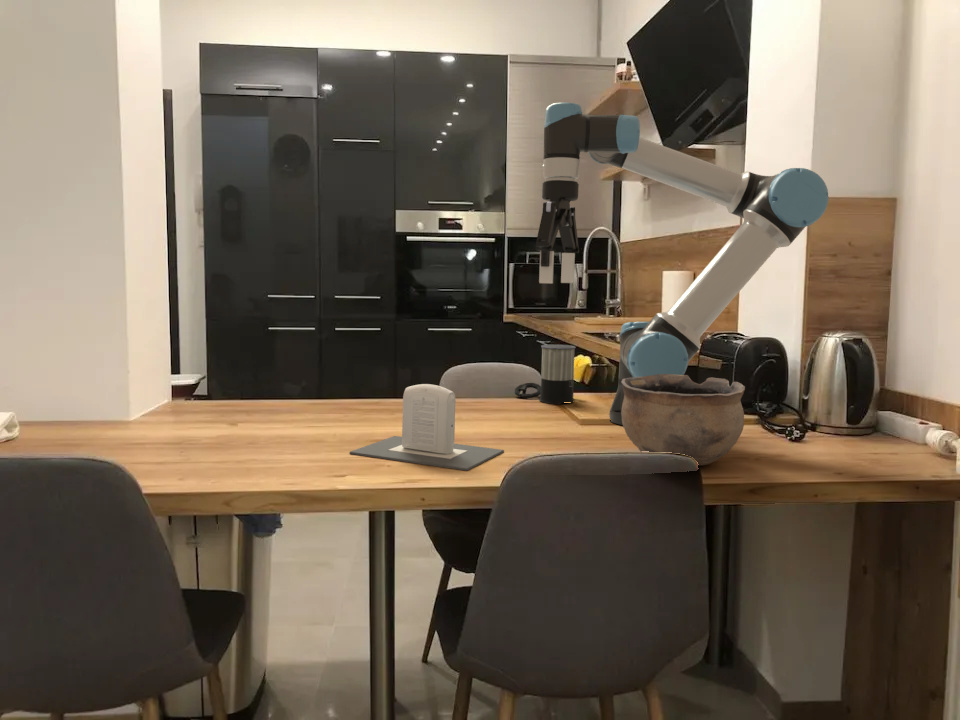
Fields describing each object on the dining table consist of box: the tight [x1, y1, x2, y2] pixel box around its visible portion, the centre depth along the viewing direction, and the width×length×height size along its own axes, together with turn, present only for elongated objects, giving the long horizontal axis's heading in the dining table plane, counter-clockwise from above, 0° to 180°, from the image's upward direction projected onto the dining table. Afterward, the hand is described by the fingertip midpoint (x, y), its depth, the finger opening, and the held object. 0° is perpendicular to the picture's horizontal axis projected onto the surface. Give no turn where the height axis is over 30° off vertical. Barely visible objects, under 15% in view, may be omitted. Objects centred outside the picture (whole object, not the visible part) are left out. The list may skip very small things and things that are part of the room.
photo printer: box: [401, 383, 457, 454], centre depth 145 cm, size 10×4×12 cm, turn 65°
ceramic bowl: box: [621, 374, 746, 466], centre depth 142 cm, size 22×22×15 cm
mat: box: [349, 435, 505, 471], centre depth 146 cm, size 24×16×1 cm, turn 65°
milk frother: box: [514, 344, 577, 405], centre depth 208 cm, size 14×16×15 cm
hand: (557, 283), depth 165 cm, fingers open, 13 cm apart
